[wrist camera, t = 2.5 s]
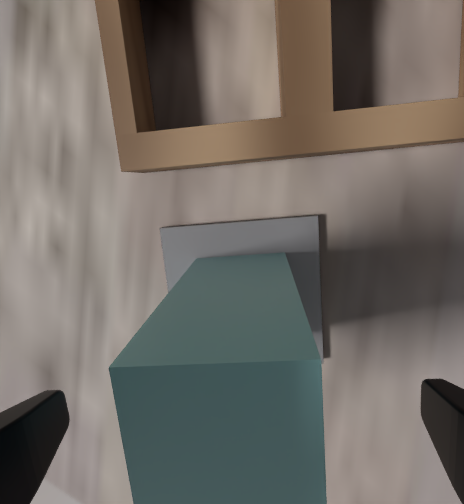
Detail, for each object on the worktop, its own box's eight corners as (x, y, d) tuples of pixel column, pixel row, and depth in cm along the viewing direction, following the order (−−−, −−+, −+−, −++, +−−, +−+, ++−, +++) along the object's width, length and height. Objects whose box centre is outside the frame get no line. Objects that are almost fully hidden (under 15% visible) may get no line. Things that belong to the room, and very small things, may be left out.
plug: (284, 252, 15) (320, 359, 6) (289, 335, 16) (327, 536, 7) (196, 258, 15) (108, 367, 6) (205, 339, 16) (139, 534, 7)
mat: (316, 214, 15) (318, 215, 14) (321, 358, 16) (323, 363, 16) (162, 227, 15) (159, 228, 15) (180, 364, 17) (178, 368, 16)
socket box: (491, -94, 12) (562, -179, 9) (477, 140, 14) (534, 130, 11) (114, -33, 13) (75, -90, 10) (143, 172, 15) (116, 171, 12)
